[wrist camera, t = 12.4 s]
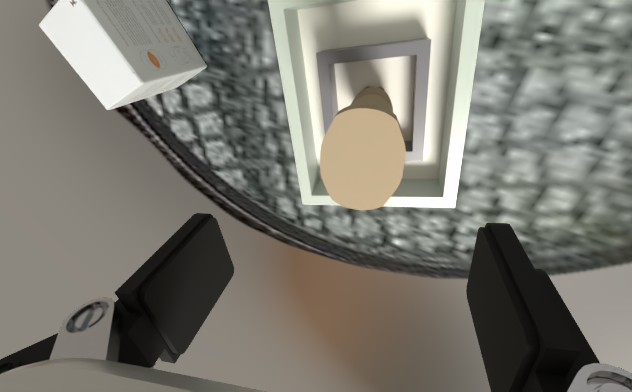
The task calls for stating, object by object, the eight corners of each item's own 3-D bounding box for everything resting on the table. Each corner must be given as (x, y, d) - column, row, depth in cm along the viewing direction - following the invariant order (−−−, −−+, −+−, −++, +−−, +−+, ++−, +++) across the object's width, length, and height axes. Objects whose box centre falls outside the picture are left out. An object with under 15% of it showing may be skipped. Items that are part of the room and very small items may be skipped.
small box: (131, 21, 32) (34, 22, 23) (163, -8, 30) (68, -19, 21) (177, 89, 35) (105, 112, 26) (209, 67, 33) (142, 84, 24)
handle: (347, 129, 31) (319, 204, 19) (351, 65, 28) (321, 105, 15) (392, 133, 30) (394, 214, 18) (402, 67, 27) (414, 111, 15)
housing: (288, -3, 27) (266, -7, 23) (472, -36, 23) (491, -49, 19) (314, 181, 37) (302, 204, 33) (446, 181, 33) (454, 207, 29)
